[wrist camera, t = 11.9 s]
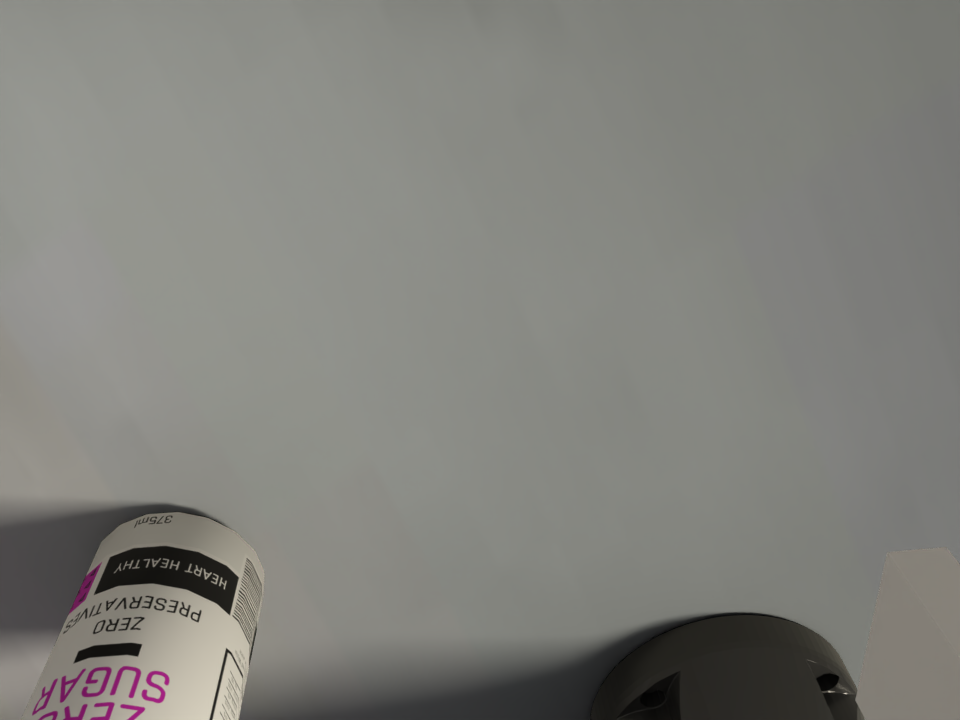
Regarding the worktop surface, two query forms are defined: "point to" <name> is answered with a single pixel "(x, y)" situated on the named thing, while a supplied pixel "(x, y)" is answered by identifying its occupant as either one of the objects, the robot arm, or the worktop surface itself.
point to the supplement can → (157, 627)
